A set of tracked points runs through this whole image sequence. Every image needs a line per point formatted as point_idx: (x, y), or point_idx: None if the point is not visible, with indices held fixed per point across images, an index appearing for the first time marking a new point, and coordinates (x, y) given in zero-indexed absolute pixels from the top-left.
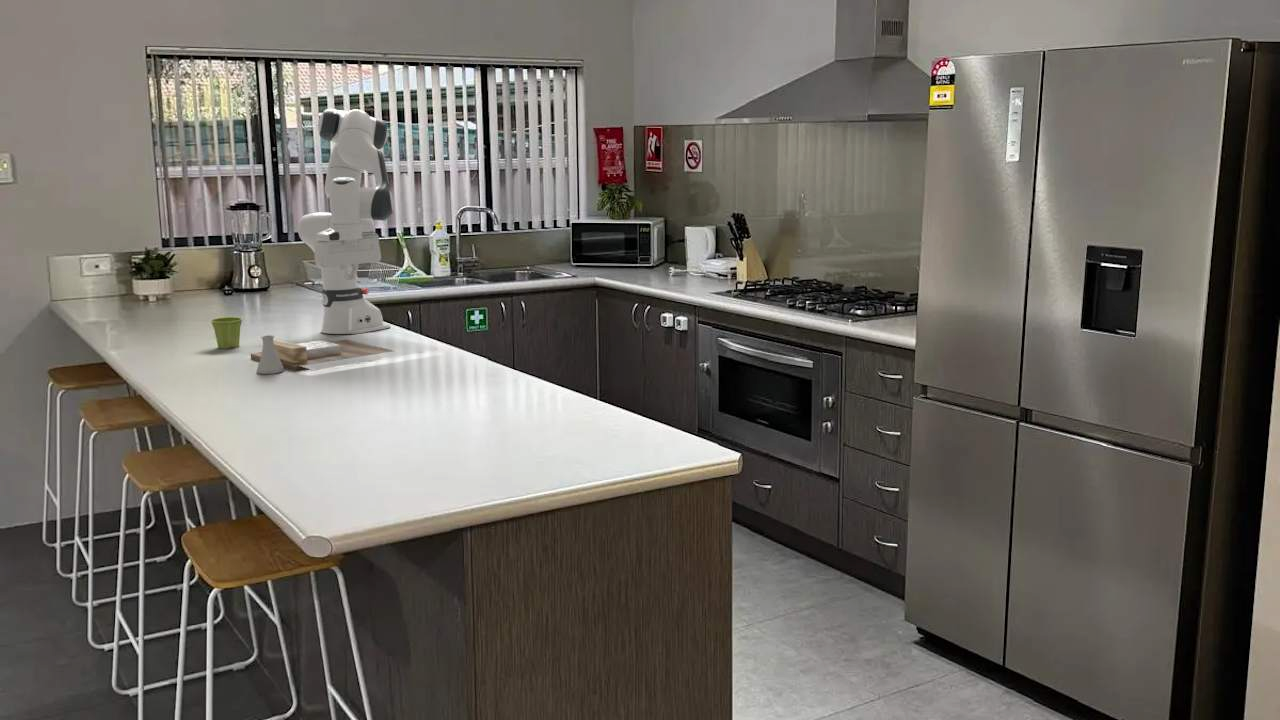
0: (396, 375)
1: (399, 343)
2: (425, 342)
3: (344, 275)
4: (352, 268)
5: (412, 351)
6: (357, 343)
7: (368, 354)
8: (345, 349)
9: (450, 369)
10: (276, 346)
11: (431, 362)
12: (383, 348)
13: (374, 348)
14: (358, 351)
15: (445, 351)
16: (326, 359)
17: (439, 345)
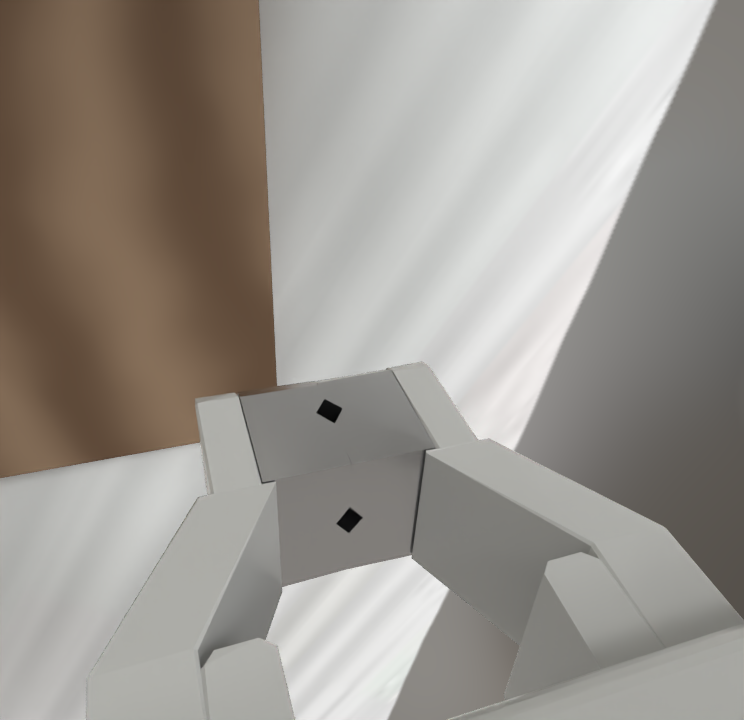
0: (78, 716)
1: (526, 64)
2: (620, 159)
3: (209, 489)
4: (559, 528)
5: (401, 354)
6: (224, 23)
7: (108, 451)
8: (35, 211)
9: None
10: None
11: (305, 586)
12: (267, 337)
13: (224, 307)
14: (93, 337)
15: (488, 433)
16: None
17: (584, 292)
